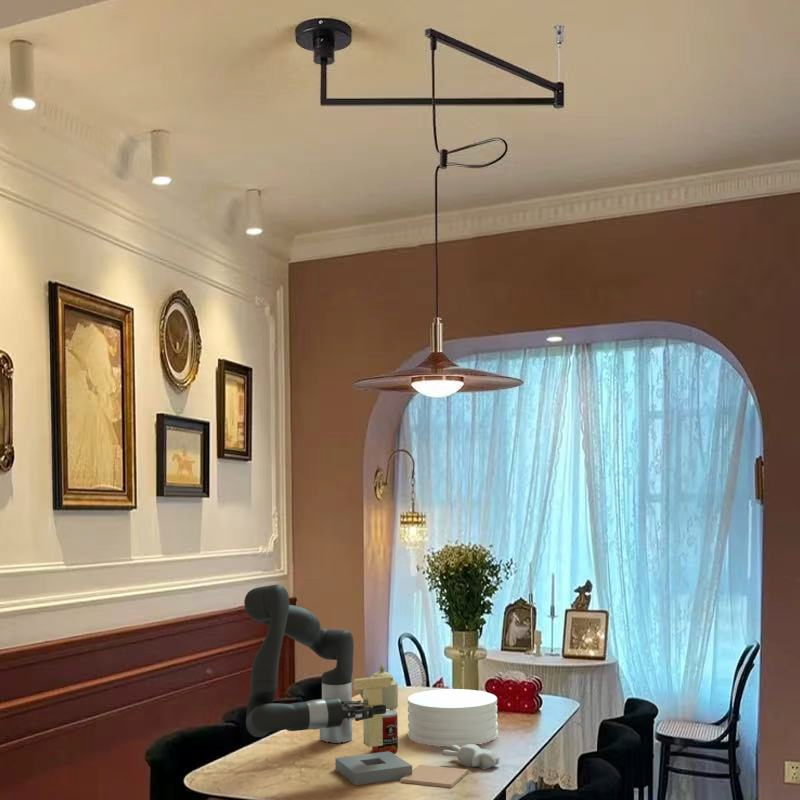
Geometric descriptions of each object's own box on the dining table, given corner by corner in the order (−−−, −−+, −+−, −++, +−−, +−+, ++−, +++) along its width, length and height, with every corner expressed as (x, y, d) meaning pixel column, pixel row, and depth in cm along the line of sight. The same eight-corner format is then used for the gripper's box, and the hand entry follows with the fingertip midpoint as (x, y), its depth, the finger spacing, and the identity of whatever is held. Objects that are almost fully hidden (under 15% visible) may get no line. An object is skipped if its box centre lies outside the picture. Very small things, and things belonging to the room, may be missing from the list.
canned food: (379, 755, 266) (378, 716, 267) (367, 749, 273) (366, 711, 274) (402, 752, 270) (402, 713, 271) (390, 746, 277) (389, 708, 278)
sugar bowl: (386, 713, 319) (386, 669, 321) (357, 711, 323) (357, 667, 325) (402, 704, 333) (401, 662, 335) (374, 702, 337) (373, 660, 339)
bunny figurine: (489, 757, 248) (440, 744, 256) (487, 777, 248) (438, 763, 256) (503, 749, 256) (456, 736, 264) (502, 768, 256) (454, 754, 264)
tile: (400, 782, 240) (400, 779, 241) (419, 767, 253) (419, 764, 253) (451, 787, 235) (451, 784, 235) (468, 772, 248) (468, 769, 248)
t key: (358, 748, 246) (357, 681, 248) (353, 744, 250) (352, 678, 252) (393, 744, 250) (392, 677, 252) (387, 740, 254) (386, 675, 255)
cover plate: (355, 785, 238) (355, 773, 239) (335, 769, 253) (335, 758, 253) (412, 777, 245) (412, 765, 245) (389, 762, 259) (389, 751, 260)
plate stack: (466, 752, 269) (465, 711, 270) (390, 739, 286) (389, 700, 287) (514, 732, 291) (513, 695, 292) (441, 721, 308) (440, 685, 309)
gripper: (330, 704, 239) (392, 698, 246) (314, 694, 252) (372, 688, 259) (331, 734, 238) (392, 727, 245) (314, 722, 251) (373, 715, 258)
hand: (382, 707), depth 252 cm, fingers closed on t key, 4 cm apart
